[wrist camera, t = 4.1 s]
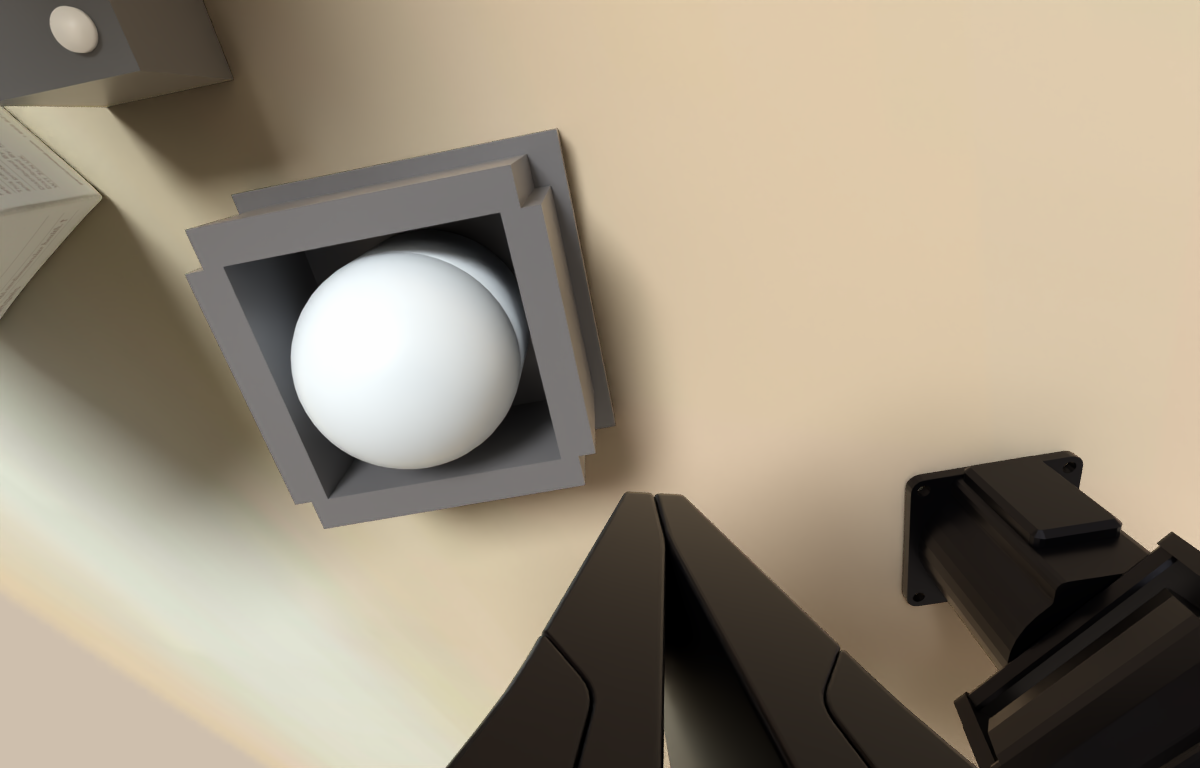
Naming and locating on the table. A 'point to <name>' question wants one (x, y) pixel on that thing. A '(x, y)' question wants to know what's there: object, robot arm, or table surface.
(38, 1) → the die
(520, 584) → the table surface
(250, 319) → the base
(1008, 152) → the table surface
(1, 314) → the supplement box
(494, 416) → the white ball
